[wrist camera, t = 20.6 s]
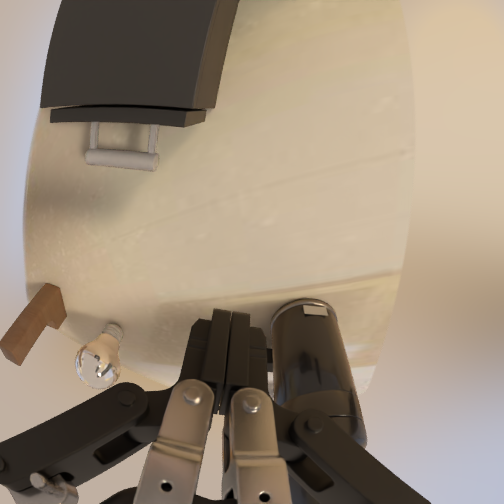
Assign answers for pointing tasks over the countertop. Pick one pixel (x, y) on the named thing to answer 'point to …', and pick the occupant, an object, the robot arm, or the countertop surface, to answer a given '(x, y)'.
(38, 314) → the wooden block
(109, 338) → the light bulb
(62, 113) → the pull-out drawer
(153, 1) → the dark drawer cabinet
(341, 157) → the countertop surface
